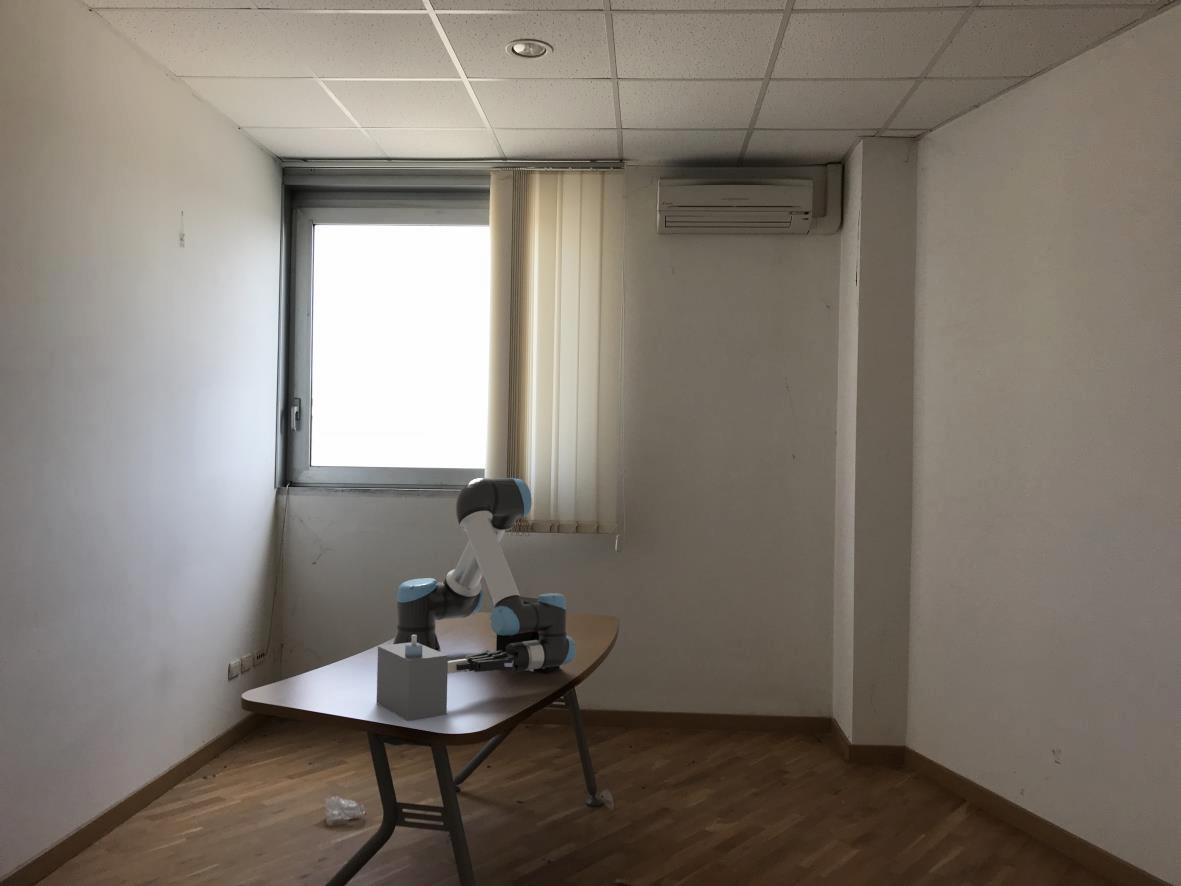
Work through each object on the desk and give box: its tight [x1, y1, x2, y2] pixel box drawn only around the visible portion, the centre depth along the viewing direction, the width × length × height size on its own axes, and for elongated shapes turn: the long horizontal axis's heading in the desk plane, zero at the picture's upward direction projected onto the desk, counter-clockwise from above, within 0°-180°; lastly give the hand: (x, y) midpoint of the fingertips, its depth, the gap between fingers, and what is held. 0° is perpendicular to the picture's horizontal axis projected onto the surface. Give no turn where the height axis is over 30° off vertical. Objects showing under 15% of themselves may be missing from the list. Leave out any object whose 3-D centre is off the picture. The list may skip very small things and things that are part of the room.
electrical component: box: [495, 596, 561, 675], centre depth 256 cm, size 18×10×20 cm, turn 59°
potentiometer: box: [405, 635, 422, 657], centre depth 207 cm, size 4×4×5 cm
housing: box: [376, 642, 449, 722], centre depth 212 cm, size 18×10×14 cm, turn 37°
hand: (443, 667), depth 216 cm, fingers closed
